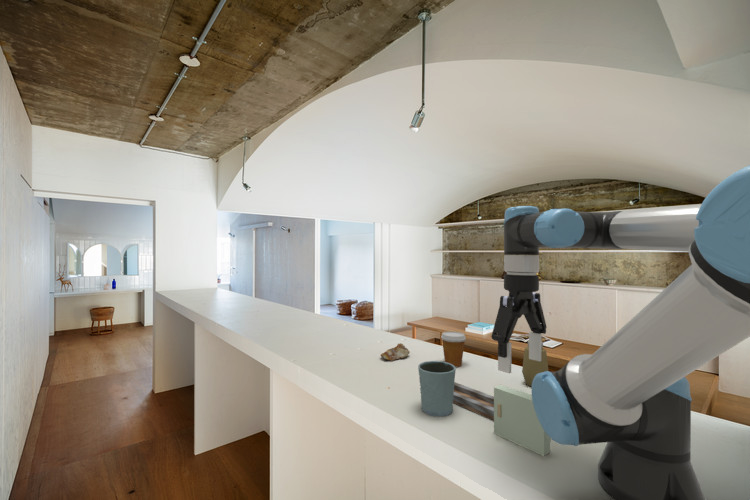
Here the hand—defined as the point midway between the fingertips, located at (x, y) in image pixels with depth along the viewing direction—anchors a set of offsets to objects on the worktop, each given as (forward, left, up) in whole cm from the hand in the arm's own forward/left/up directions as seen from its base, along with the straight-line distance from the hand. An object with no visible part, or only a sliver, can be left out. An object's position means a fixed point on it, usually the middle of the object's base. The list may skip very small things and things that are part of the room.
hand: (520, 365), depth 79 cm
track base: (+19, -8, -17) cm, 27 cm away
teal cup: (+23, +3, -18) cm, 29 cm away
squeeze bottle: (+15, -37, -18) cm, 44 cm away
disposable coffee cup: (+45, -32, -18) cm, 58 cm away
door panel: (0, 0, -18) cm, 18 cm away
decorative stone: (+66, -20, -18) cm, 71 cm away
